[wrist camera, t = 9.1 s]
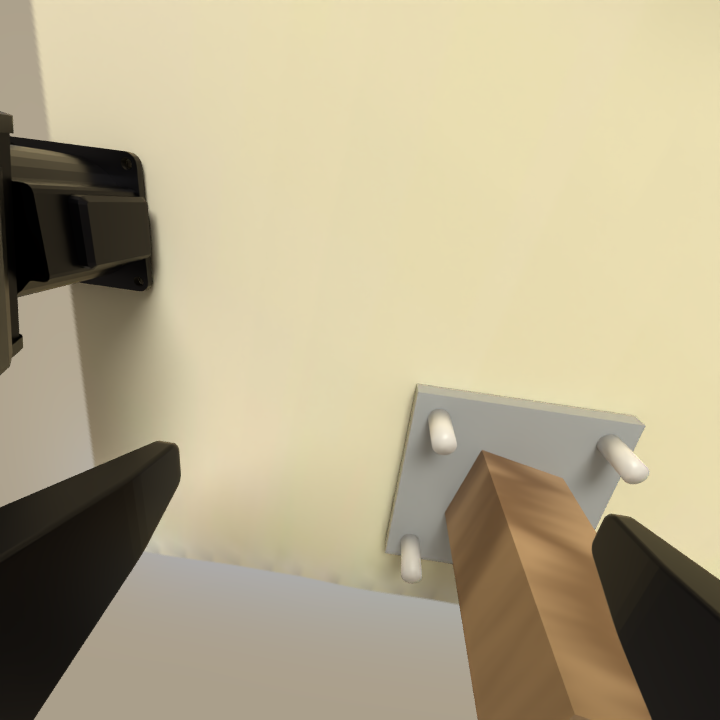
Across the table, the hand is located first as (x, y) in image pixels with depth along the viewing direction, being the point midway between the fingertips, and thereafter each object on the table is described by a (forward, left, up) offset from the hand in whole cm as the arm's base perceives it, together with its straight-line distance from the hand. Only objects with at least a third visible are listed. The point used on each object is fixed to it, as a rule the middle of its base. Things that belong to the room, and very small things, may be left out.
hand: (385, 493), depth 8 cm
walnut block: (+8, -9, -12) cm, 17 cm away
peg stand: (+8, -10, -13) cm, 18 cm away
